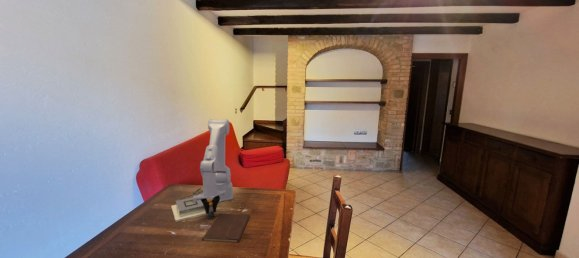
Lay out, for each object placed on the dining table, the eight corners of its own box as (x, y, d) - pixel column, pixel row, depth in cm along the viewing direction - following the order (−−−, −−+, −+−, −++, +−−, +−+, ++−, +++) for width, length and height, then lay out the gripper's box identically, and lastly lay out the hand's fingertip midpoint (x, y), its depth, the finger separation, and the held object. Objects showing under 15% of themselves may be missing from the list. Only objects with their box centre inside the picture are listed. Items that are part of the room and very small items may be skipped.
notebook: (202, 241, 102) (201, 237, 102) (218, 216, 122) (218, 212, 121) (238, 243, 101) (238, 238, 101) (249, 217, 121) (249, 214, 120)
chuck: (200, 201, 134) (200, 195, 133) (206, 210, 124) (205, 204, 123) (176, 206, 128) (175, 200, 127) (179, 217, 118) (179, 210, 117)
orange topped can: (213, 214, 122) (212, 199, 121) (214, 217, 120) (214, 201, 118) (206, 216, 121) (206, 200, 119) (208, 219, 118) (207, 203, 117)
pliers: (173, 202, 133) (189, 187, 153) (173, 204, 133) (189, 188, 153) (191, 203, 133) (205, 187, 152) (192, 204, 133) (205, 189, 152)
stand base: (203, 200, 137) (203, 198, 137) (211, 213, 123) (211, 211, 123) (171, 207, 129) (171, 205, 128) (175, 222, 115) (175, 220, 115)
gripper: (194, 191, 110) (196, 219, 113) (227, 184, 118) (228, 211, 120) (191, 185, 116) (193, 213, 119) (223, 179, 124) (223, 205, 126)
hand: (210, 212), depth 120 cm, fingers closed on orange topped can, 3 cm apart
